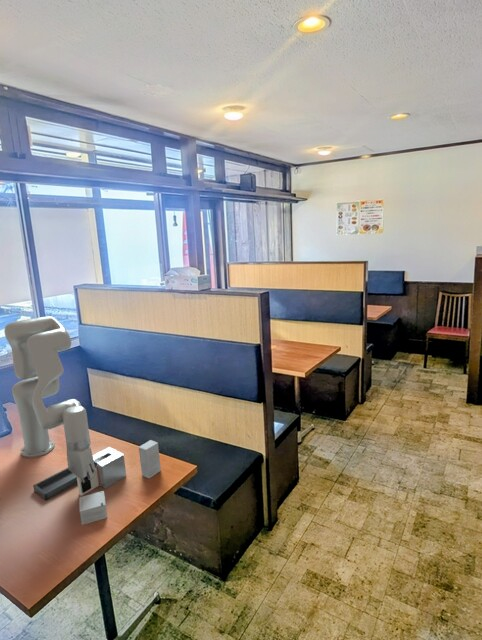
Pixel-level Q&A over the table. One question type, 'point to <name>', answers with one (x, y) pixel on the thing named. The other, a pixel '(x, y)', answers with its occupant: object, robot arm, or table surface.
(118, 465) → the ticket dispenser
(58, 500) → the table surface
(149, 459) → the skincare box
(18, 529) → the table surface
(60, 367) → the robot arm
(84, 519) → the small box
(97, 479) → the ticket
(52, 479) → the stub tray
